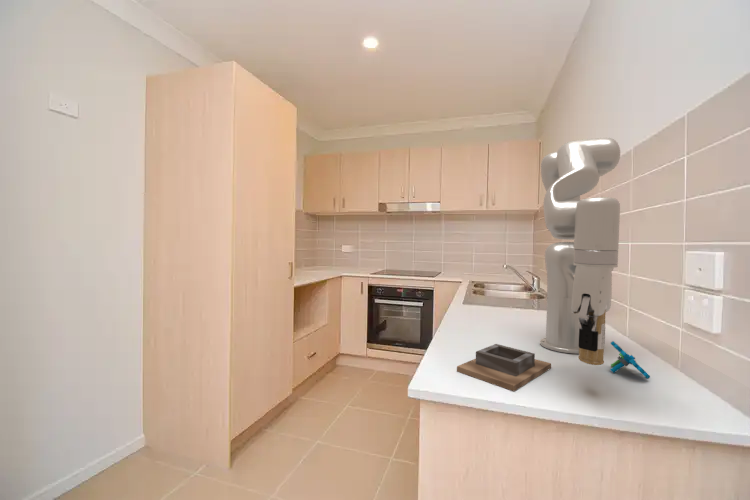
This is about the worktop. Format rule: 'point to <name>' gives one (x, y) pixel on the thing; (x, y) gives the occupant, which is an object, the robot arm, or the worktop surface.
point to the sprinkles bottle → (598, 355)
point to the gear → (625, 361)
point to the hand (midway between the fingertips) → (591, 345)
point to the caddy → (504, 366)
